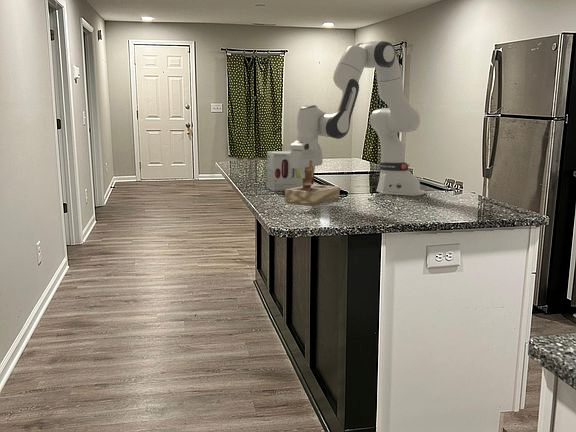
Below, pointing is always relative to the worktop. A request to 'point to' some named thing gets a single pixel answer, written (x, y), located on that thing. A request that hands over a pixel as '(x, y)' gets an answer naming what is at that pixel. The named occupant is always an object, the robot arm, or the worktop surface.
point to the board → (312, 194)
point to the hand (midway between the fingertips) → (306, 177)
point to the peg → (307, 177)
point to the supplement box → (281, 172)
